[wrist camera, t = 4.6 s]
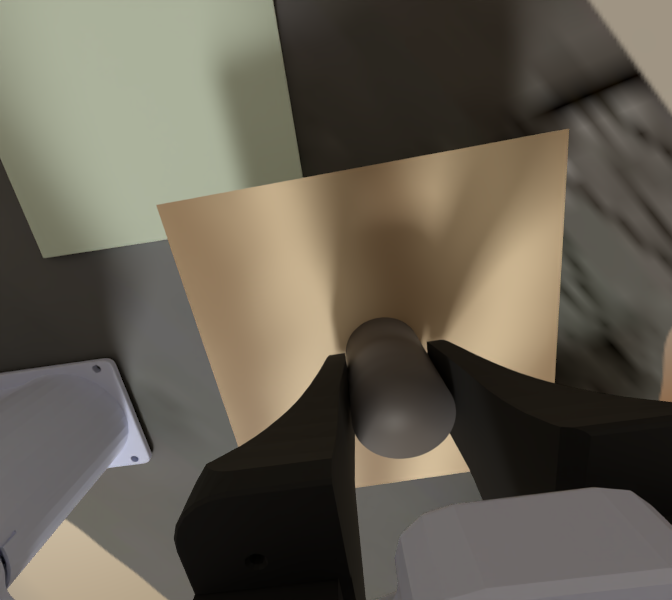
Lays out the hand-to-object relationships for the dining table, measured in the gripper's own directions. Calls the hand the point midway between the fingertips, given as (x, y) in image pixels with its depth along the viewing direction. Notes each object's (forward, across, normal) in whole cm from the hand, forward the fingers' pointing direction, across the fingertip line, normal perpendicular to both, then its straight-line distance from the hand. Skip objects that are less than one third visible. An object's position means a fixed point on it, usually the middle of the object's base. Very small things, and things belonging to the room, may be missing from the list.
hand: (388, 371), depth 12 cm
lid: (+2, 0, 0) cm, 2 cm away
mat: (+8, +10, -13) cm, 18 cm away
